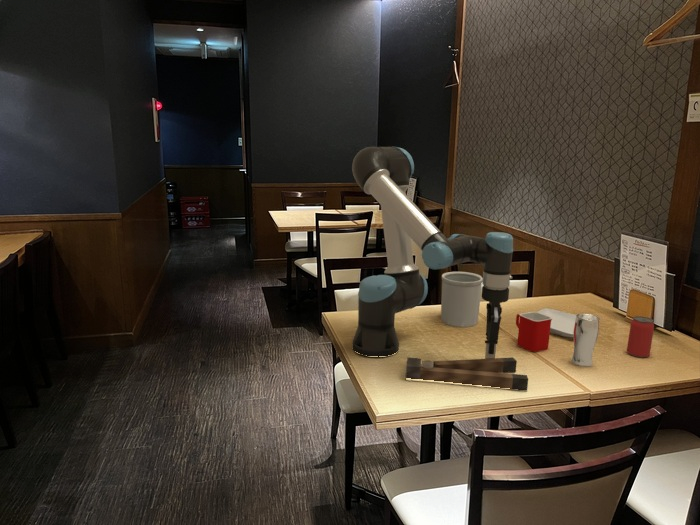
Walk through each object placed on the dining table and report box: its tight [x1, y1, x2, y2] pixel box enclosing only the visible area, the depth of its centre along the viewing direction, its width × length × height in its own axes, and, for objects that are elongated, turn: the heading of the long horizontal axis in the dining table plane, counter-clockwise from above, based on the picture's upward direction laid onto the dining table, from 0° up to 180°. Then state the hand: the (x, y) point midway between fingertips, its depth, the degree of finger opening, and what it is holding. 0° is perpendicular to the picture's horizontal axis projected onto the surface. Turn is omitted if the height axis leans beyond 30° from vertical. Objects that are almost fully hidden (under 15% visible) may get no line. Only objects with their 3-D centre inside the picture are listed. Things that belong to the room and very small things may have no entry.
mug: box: [515, 311, 552, 353], centre depth 171 cm, size 12×8×11 cm
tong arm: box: [432, 356, 518, 374], centre depth 150 cm, size 24×2×4 cm, turn 98°
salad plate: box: [519, 307, 600, 338], centre depth 189 cm, size 21×21×3 cm
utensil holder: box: [440, 271, 483, 328], centre depth 192 cm, size 15×15×18 cm
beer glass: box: [570, 312, 600, 368], centre depth 157 cm, size 7×7×15 cm
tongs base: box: [405, 357, 529, 391], centre depth 145 cm, size 33×6×5 cm, turn 81°
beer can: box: [626, 315, 655, 358], centre depth 165 cm, size 7×7×12 cm
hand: (489, 362), depth 153 cm, fingers closed
